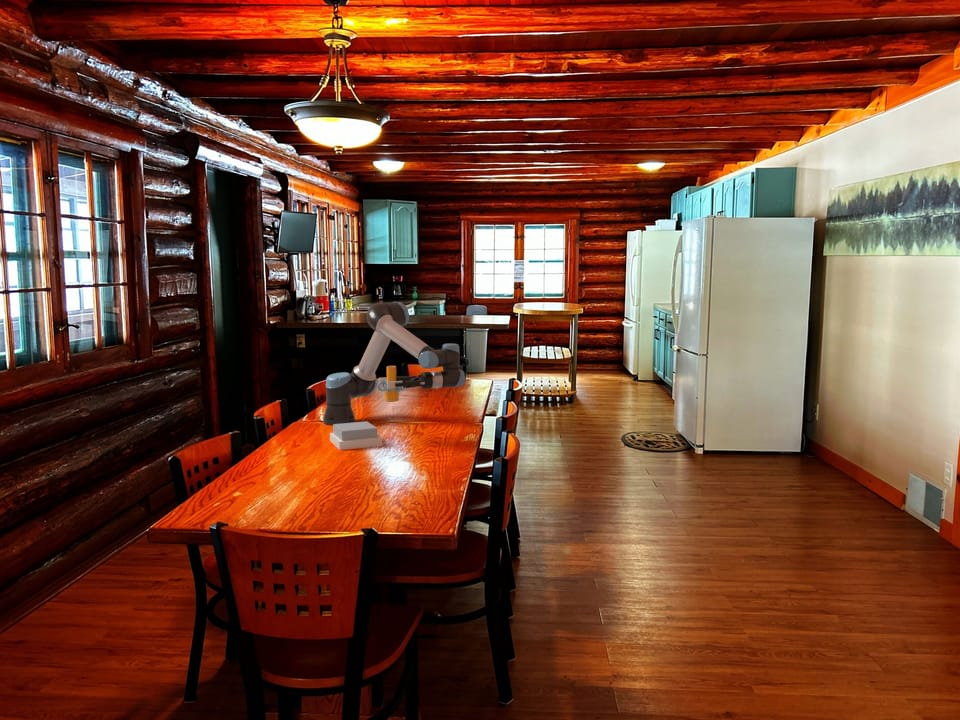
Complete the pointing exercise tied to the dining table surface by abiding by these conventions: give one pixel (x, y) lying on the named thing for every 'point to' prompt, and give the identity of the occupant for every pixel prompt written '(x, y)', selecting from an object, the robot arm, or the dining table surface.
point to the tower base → (355, 442)
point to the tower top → (354, 431)
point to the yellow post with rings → (390, 393)
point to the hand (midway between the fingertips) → (382, 383)
